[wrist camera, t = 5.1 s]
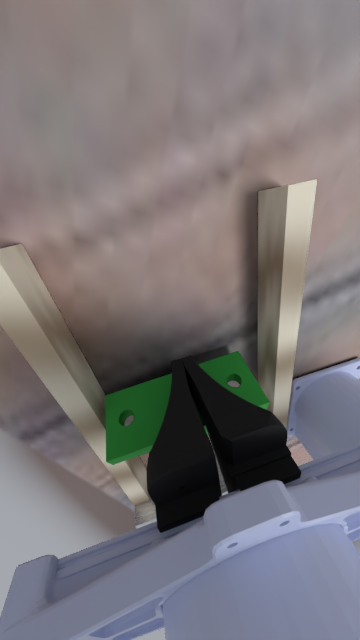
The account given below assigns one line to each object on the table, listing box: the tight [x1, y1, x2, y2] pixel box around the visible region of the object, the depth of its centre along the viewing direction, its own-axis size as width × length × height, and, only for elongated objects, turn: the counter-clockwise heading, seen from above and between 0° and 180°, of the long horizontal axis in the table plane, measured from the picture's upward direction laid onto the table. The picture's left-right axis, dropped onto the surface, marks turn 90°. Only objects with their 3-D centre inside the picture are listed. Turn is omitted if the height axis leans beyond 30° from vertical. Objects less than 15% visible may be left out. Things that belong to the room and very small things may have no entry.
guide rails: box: [0, 179, 317, 505], centre depth 16 cm, size 24×16×2 cm, turn 11°
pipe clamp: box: [105, 351, 270, 465], centre depth 15 cm, size 10×4×4 cm, turn 103°
